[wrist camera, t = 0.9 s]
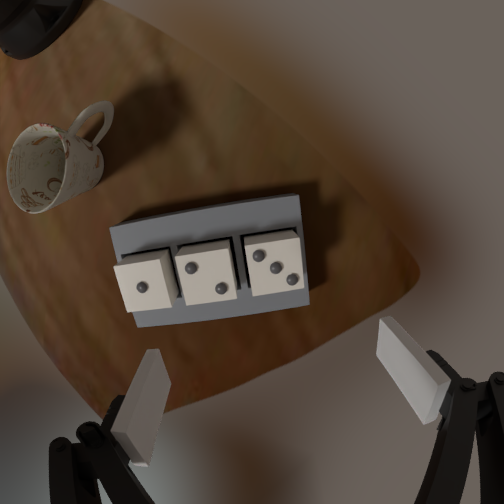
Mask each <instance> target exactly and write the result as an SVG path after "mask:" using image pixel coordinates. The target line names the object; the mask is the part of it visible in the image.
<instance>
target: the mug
mask: <svg viewBox="0 0 504 504" xmlns="http://www.w3.org/2000/svg"><path fill="white" fill-rule="evenodd" d="M98 112H103V113H104V115H105V121H104V125H103V127H102V128H101V130H100V132H99V133H98V134H97V136H96V137H95V139H94V140H93V142H92V143H91V142H89V141H87V140H85V139H82V138H80V137H78V136H76V133H77V132H78V130H79V129H80V127H81V126H82V124H83V123H84V122H85V121H86V120H87V119H88V118H89V117H90V116H92V115H93V114H95V113H98ZM113 116H114V107H113V104H112V103H111V102H109V101H100V102H97V103H94V104H92V105H90V106H89V107H87V108H86V109H84V110H83V111H82V112H81V113H80V114H79V116H78V117H77V118H76V119H75V121H74V122H73V123H72V125H71V126H70V128H69V129H68V131H65V130H63V129H60V128H58V127H56V126H54V125H51V124H47V123H39V124H35V125H32V126H30V127H28V128H27V129H26V130H24V131H23V132H22V133H21V134H20V136H19V137H18V138H17V140H16V141H15V143H14V145H13V147H12V149H11V152H10V155H9V159H8V164H7V183H8V188H9V191H10V194H11V196H12V198H13V200H14V202H15V203H16V204H17V206H18V207H19V208H21V209H22V210H24V211H25V212H28V213H41V212H44V211H46V210H49V209H51V208H53V207H55V206H57V205H59V204H61V203H63V202H65V201H67V200H69V199H71V198H73V197H75V196H77V195H80V194H82V193H84V192H86V191H88V190H90V189H92V188H93V187H94V186H95V185H96V184H97V183H98V182H99V180H100V178H101V176H102V173H103V169H104V159H103V155H102V153H101V151H100V149H99V148H98V147H97V146H96V145H97V144H98V143H99V142H100V140H101V139H102V138H103V137H104V135H105V134H106V133H107V131H108V130H109V128H110V126H111V124H112V121H113Z"/></svg>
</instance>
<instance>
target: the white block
mask: <svg viewBox="0 0 504 504" xmlns="http://www.w3.org/2000/svg"><path fill="white" fill-rule="evenodd" d="M114 270H115V273H116V277H117V280H118V284H119V287H120V290H121V294H122V297H123V300H124V303H125V306H126V309H127V312H135V311H144V310H154V309H162V308H171V307H172V306H173V304H174V302H175V300H176V298H177V295H178V293H179V290H178V286H177V282H176V278H175V274H174V270H173V265H172V261H171V257H170V252H169V249H164V250H158V251H152V252H146V253H140V254H134V255H129V256H126V257H125V258H124V259H122V260H121V261H120V262H119V263H117V264H116V265H115V266H114Z"/></svg>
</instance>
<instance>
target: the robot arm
mask: <svg viewBox="0 0 504 504" xmlns="http://www.w3.org/2000/svg"><path fill="white" fill-rule="evenodd" d="M81 3H82V0H0V48H1V49H2V51H3V52H4V53H5V54H6V55H7V56H10V57H12V58H15V59H18V60H22V59H27V58H30V57H32V56H34V55H36V54H38V53H39V52H41V51H42V50H44V49H45V48H46V47H47V46H49V45H50V44H51V43H52V42H53V41H54V40H55V39H56V38H57V37H58V36H59V35H60V34H61V33H62V32H63V31H64V30H65V29H66V27H67V26H68V25H69V24H70V22H71V21H72V19H73V18H74V16H75V15H76V13H77V11H78V10H79V7H80V5H81ZM376 355H377V357H378V358H379V360H380V361H381V362H382V364H383V365H384V367H385V368H386V370H387V371H388V373H389V374H390V375H391V377H392V378H393V380H394V381H395V383H396V384H397V386H398V387H399V389H400V390H401V392H402V393H403V395H404V396H405V398H406V399H407V401H408V402H409V404H410V405H411V407H412V408H413V409H414V411H415V413H416V414H417V416H418V417H419V419H420V420H421V422H422V423H423V425H425V424H427V423H429V422H431V421H434V420H435V419H436V418H437V416H438V413H439V412H440V413H441V415H442V416H443V417H442V419H441V421H440V423H439V425H438V428H437V430H438V434H437V438H436V442H435V445H434V449H433V452H432V456H431V459H430V462H429V465H428V468H427V471H426V474H425V477H424V480H423V482H422V485H421V488H420V490H419V493H418V495H417V498H416V500H415V503H414V504H460V500H461V497H462V493H463V489H464V486H465V481H466V477H467V473H468V468H469V464H470V459H471V453H472V448H473V441H474V434H475V431H476V438H477V446H478V455H479V468H480V488H481V489H480V493H481V503H480V504H504V373H503V372H495V373H493V374H491V376H490V378H489V380H488V381H485V382H481V383H476V382H475V381H474V380H472V379H470V378H461V377H460V375H459V374H458V373H457V372H456V371H455V370H454V369H453V368H452V367H451V366H450V365H449V364H448V363H447V362H446V361H445V360H444V359H443V358H442V357H441V356H440V355H439V354H438V353H436V352H434V351H432V350H429V351H426V352H425V351H424V350H423V349H422V348H421V347H420V345H419V344H418V343H417V342H416V341H415V340H414V339H413V338H412V337H411V336H410V335H409V334H408V333H407V332H406V331H405V330H404V329H403V328H402V327H401V326H400V325H399V324H398V323H397V322H396V321H395V320H394V319H393V318H392V317H391V316H388V317H383V318H380V323H379V335H378V343H377V353H376ZM170 386H171V382H170V379H169V377H168V374H167V371H166V368H165V365H164V362H163V359H162V357H161V354H160V351H159V349H147V351H146V353H145V355H144V357H143V359H142V361H141V363H140V366H139V368H138V370H137V372H136V374H135V376H134V379H133V381H132V383H131V385H130V387H129V390H128V392H127V394H126V395H118V396H117V397H116V398H115V399H114V400H113V401H112V403H111V405H110V407H109V409H108V411H107V413H106V414H107V415H105V417H104V419H103V422H102V424H101V426H100V425H99V424H98V423H96V422H90V421H89V422H86V423H83V424H82V425H80V426H79V427H78V429H77V431H76V436H77V438H78V439H79V440H80V442H81V443H73V444H72V443H71V442H70V441H69V440H68V439H67V438H65V437H59V438H56V439H54V440H53V441H52V442H51V443H50V446H49V488H50V502H51V504H102V502H101V497H100V493H99V488H98V483H97V479H100V481H101V483H102V485H103V487H104V489H105V491H106V493H107V495H108V497H109V498H110V500H111V502H112V504H155V503H154V501H153V500H152V499H151V497H150V496H149V495H148V493H147V492H146V491H145V489H144V488H143V486H142V485H141V483H140V482H139V480H138V479H137V477H136V476H135V474H134V473H133V471H132V470H131V469H130V467H129V466H128V463H129V461H130V460H131V461H132V462H133V464H134V465H136V466H145V467H149V464H150V461H151V457H152V453H153V449H154V445H155V441H156V437H157V433H158V430H159V426H160V422H161V418H162V415H163V411H164V407H165V404H166V400H167V397H168V393H169V390H170Z"/></svg>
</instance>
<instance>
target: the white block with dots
mask: <svg viewBox="0 0 504 504" xmlns="http://www.w3.org/2000/svg"><path fill="white" fill-rule="evenodd" d="M244 244H245V251H246V257H247V264H248V270H249V276H250V283H251V289H252V295H253V296H259V295H265V294H272V293H278V292H284V291H290V290H296V289H302V288H304V278H303V267H302V257H301V247H300V238H299V236H298V235H297V234H296V233H295V232H294V231H293V230H285V231H278V232H272V233H265V234H258V235H252V236H245V237H244Z"/></svg>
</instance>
